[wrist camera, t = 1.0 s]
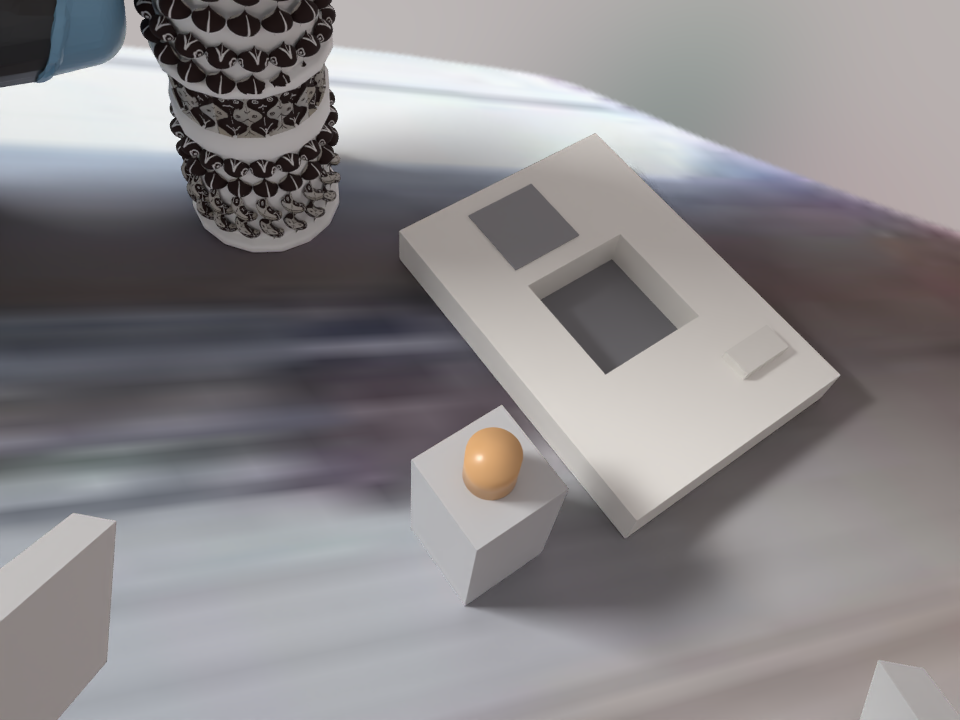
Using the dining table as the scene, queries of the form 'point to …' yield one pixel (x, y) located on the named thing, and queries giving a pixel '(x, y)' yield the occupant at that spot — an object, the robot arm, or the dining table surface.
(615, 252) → the socket plate
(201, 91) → the decorative candle
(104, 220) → the dining table surface
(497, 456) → the egg topped pedestal
